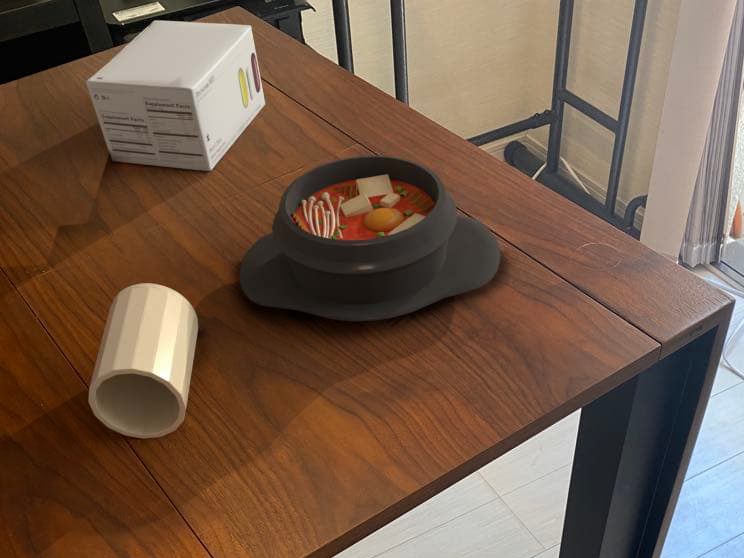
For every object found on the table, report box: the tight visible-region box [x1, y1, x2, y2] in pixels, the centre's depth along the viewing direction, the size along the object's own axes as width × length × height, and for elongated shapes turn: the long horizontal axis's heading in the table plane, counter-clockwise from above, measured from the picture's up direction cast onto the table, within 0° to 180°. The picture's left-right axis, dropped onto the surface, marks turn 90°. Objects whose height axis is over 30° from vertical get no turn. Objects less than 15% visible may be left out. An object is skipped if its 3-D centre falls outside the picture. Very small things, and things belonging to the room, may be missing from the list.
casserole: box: [238, 155, 501, 322], centre depth 78 cm, size 25×19×8 cm
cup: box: [87, 282, 199, 440], centre depth 70 cm, size 7×7×11 cm
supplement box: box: [85, 20, 266, 172], centre depth 98 cm, size 17×13×9 cm
